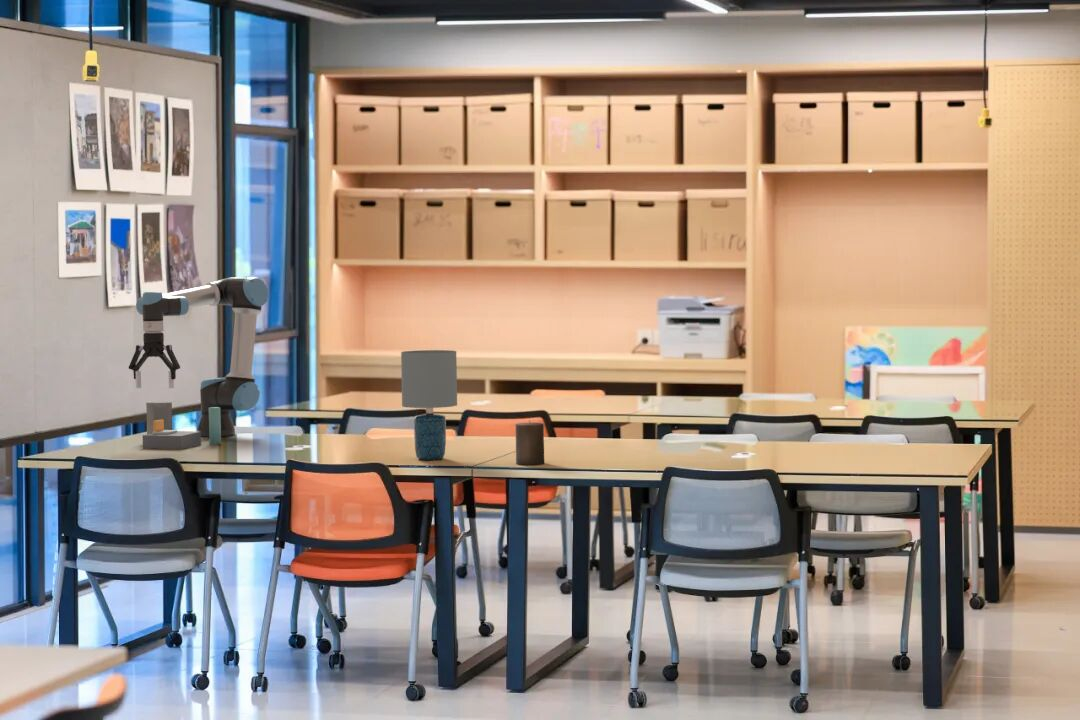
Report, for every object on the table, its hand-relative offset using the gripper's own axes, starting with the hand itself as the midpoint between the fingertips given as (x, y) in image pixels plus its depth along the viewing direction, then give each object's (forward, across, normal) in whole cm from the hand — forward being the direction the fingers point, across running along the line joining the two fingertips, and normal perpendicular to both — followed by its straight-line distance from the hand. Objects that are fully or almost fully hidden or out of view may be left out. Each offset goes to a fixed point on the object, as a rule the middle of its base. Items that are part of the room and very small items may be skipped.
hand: (154, 388), depth 604 cm
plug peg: (+23, +18, +14) cm, 32 cm away
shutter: (+17, +3, +2) cm, 18 cm away
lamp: (+23, +116, -24) cm, 121 cm away
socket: (+22, +6, +2) cm, 23 cm away
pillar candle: (+23, +154, -31) cm, 159 cm away
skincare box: (+23, -7, +16) cm, 29 cm away
